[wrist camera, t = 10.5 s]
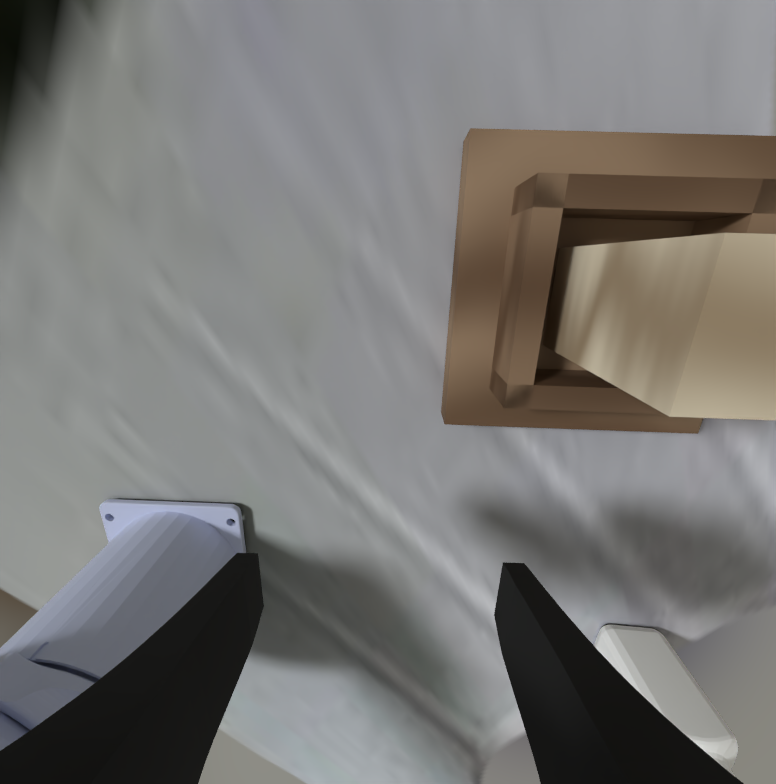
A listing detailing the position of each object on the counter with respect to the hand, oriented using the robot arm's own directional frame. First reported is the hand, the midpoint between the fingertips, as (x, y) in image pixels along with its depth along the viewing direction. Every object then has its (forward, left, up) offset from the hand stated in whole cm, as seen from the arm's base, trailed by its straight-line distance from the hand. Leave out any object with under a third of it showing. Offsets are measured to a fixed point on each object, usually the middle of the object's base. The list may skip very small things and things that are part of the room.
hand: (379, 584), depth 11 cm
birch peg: (+8, -9, -8) cm, 14 cm away
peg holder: (+8, -9, -9) cm, 15 cm away
